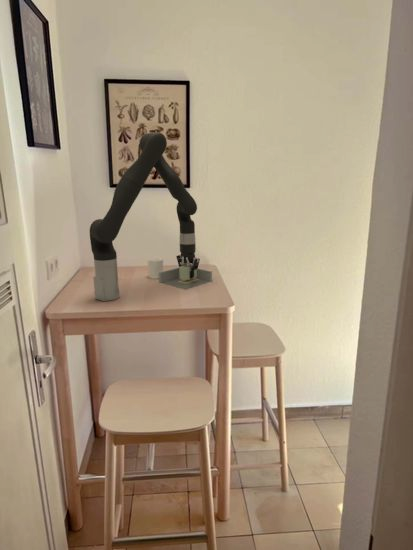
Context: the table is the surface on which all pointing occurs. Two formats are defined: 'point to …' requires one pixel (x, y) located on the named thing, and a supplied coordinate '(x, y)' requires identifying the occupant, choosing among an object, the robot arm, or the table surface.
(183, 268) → the sage block
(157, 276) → the white cup
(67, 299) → the table surface
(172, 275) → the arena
